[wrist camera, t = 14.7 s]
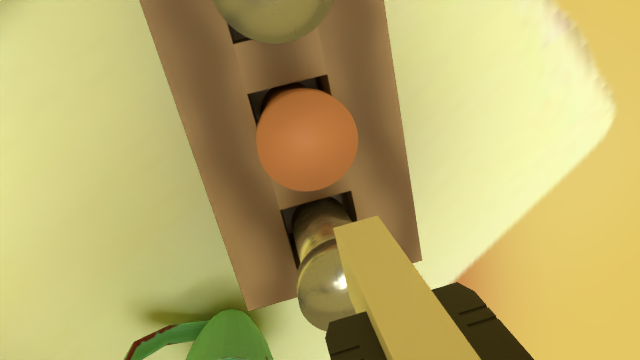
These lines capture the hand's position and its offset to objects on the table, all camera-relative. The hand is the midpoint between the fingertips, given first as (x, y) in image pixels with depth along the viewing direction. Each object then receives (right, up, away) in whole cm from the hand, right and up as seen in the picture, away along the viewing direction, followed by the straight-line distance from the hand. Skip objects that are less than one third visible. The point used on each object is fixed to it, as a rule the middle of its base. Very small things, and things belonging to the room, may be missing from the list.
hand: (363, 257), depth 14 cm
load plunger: (-4, +8, +22) cm, 24 cm away
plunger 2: (-1, -1, +23) cm, 23 cm away
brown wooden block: (-5, +10, +25) cm, 27 cm away
